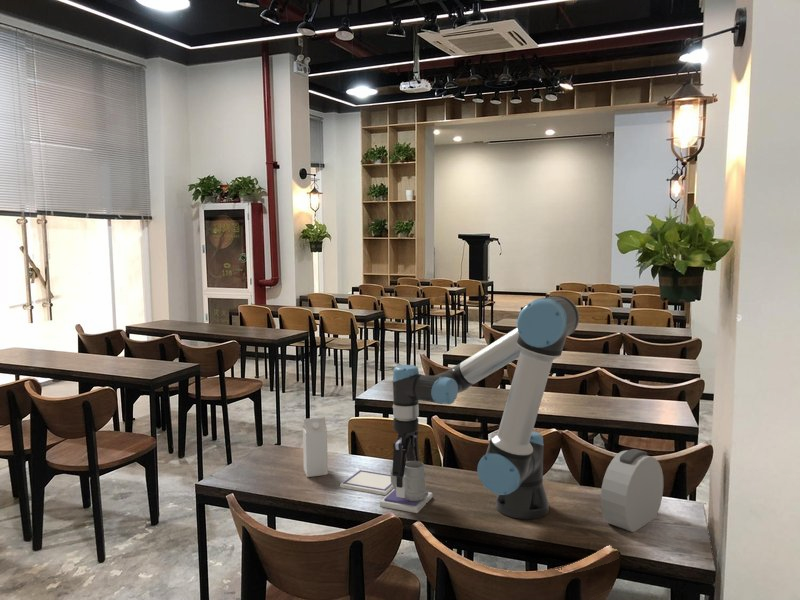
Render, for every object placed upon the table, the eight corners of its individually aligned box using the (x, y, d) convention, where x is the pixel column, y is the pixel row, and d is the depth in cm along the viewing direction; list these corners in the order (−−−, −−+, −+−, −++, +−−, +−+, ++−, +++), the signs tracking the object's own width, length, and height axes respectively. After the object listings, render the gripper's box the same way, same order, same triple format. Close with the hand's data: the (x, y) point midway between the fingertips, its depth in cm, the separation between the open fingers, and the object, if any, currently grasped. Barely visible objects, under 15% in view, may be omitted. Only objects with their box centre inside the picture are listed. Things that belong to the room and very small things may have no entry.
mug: (419, 503, 178) (419, 463, 177) (384, 495, 184) (384, 457, 183) (431, 494, 185) (430, 455, 184) (396, 487, 190) (396, 449, 189)
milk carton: (303, 470, 211) (302, 416, 209) (324, 467, 213) (323, 414, 211) (306, 477, 204) (305, 422, 203) (327, 475, 206) (326, 420, 205)
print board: (403, 479, 202) (403, 475, 202) (385, 495, 189) (385, 491, 189) (360, 472, 209) (360, 468, 208) (340, 487, 196) (339, 483, 196)
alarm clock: (638, 505, 181) (639, 439, 179) (662, 513, 175) (665, 446, 173) (599, 527, 167) (601, 456, 165) (625, 537, 161) (627, 464, 159)
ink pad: (432, 497, 187) (432, 490, 187) (417, 513, 176) (417, 506, 176) (396, 491, 192) (396, 484, 192) (379, 506, 181) (379, 499, 181)
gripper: (407, 407, 193) (407, 478, 195) (379, 425, 174) (380, 502, 176) (429, 410, 190) (429, 481, 192) (403, 428, 171) (404, 507, 173)
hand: (406, 491), depth 184 cm, fingers closed on mug, 7 cm apart
